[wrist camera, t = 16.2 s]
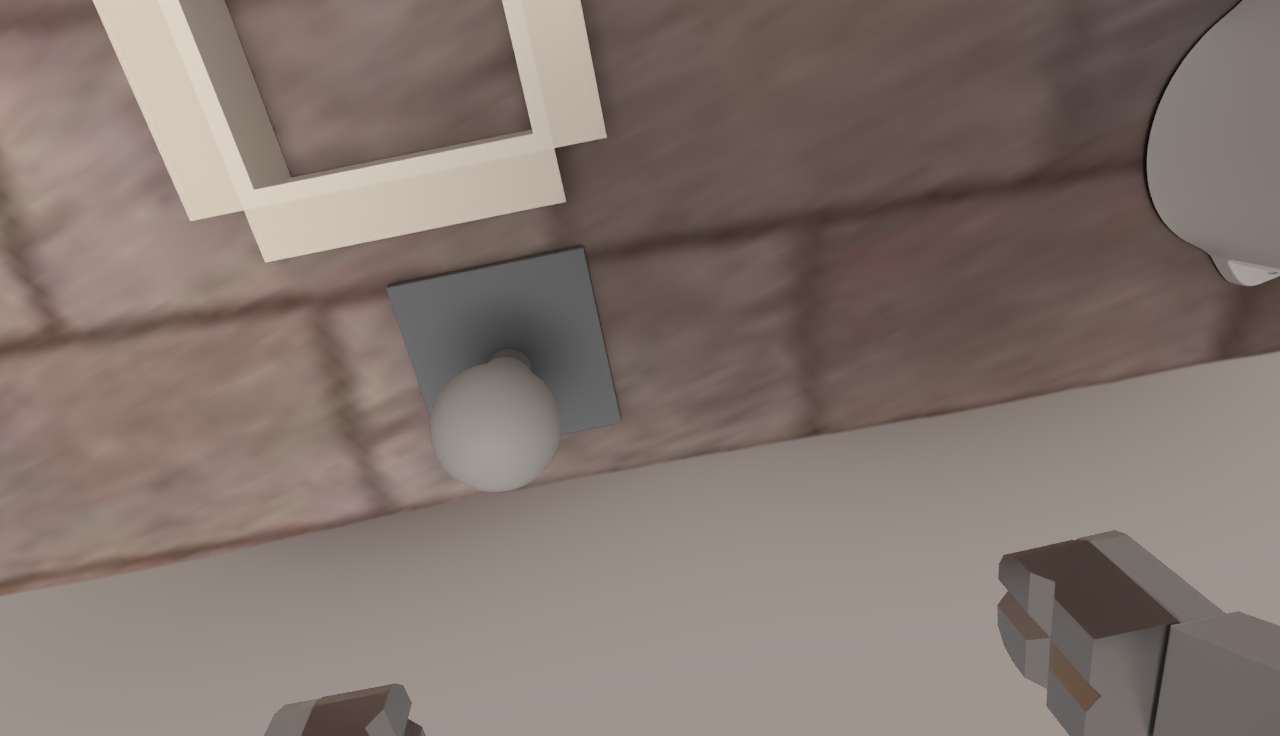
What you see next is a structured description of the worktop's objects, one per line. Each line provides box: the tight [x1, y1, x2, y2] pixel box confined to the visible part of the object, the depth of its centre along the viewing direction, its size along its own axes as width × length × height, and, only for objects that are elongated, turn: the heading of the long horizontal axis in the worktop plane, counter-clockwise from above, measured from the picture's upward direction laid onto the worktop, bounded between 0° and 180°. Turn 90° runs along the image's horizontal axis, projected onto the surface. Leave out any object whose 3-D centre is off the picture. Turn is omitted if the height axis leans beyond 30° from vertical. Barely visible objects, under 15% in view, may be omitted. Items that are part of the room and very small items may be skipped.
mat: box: [386, 246, 621, 435], centre depth 40 cm, size 11×11×1 cm
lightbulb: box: [430, 349, 561, 492], centre depth 35 cm, size 6×6×11 cm
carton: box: [93, 0, 607, 263], centre depth 31 cm, size 20×20×4 cm
